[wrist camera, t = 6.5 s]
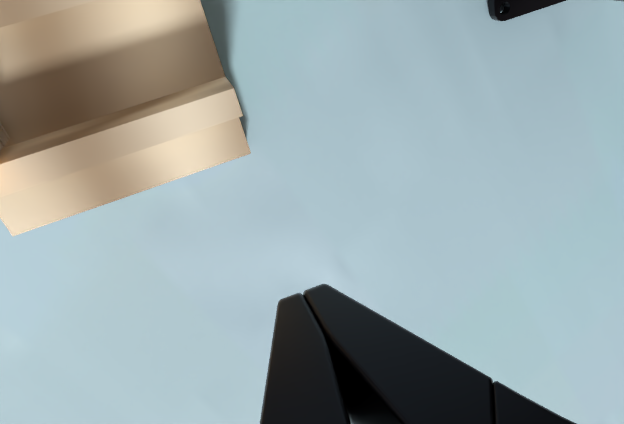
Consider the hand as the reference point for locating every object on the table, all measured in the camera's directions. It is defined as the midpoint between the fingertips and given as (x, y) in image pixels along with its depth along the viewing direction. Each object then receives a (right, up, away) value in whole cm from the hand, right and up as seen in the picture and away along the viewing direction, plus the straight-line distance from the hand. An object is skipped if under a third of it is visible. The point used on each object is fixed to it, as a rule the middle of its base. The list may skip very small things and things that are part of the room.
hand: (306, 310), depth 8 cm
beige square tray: (-8, +7, +9) cm, 14 cm away
